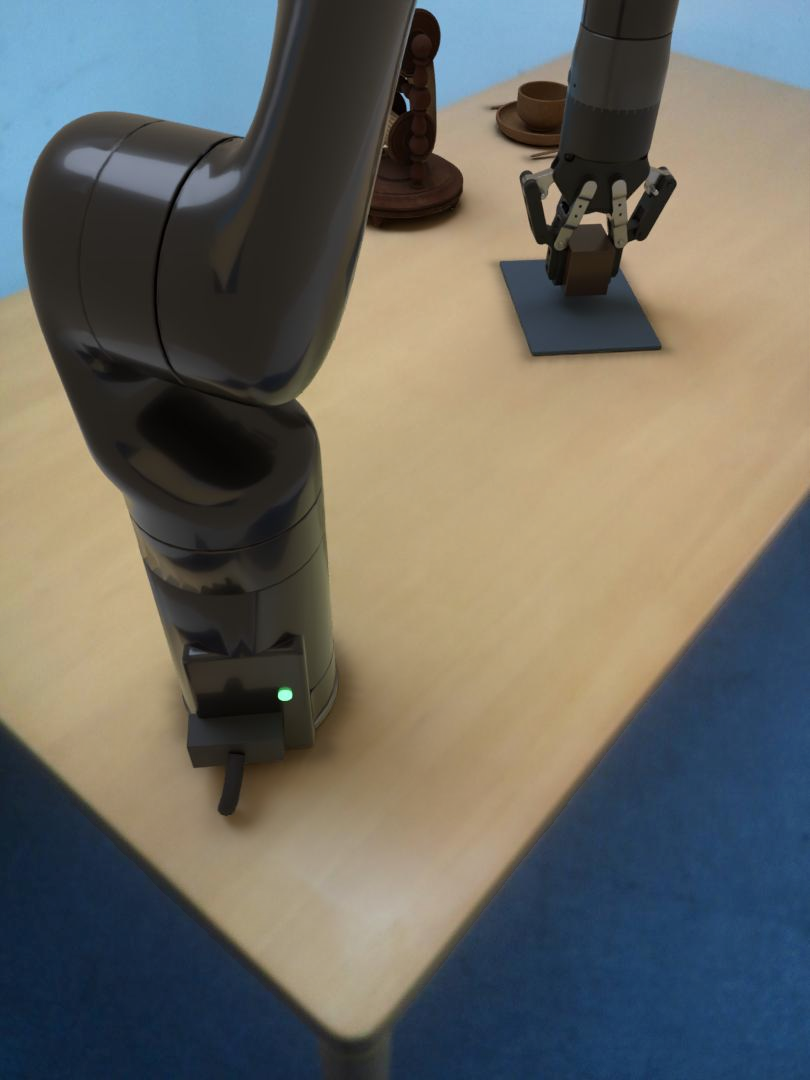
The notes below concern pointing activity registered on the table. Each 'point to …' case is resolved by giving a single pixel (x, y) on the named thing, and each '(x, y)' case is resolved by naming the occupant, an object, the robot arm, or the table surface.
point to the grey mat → (576, 314)
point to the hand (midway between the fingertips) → (579, 279)
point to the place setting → (535, 114)
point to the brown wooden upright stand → (415, 137)
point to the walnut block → (588, 262)
